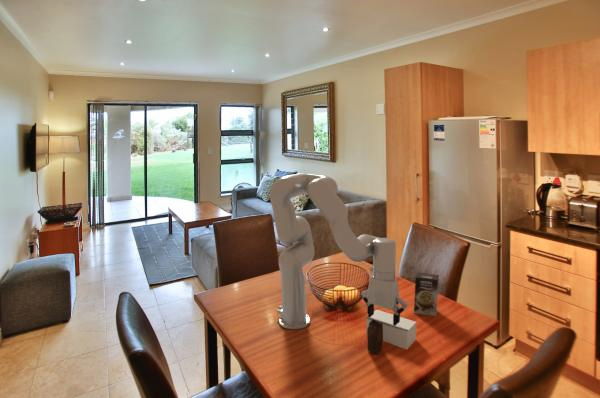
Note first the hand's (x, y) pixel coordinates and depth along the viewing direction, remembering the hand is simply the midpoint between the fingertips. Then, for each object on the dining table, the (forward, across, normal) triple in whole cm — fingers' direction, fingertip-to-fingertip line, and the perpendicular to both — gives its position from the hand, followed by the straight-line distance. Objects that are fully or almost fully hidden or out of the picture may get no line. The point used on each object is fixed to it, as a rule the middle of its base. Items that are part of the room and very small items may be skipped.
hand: (383, 319), depth 128 cm
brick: (+4, 0, -3) cm, 5 cm away
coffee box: (+10, +3, +34) cm, 35 cm away
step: (+10, 0, +6) cm, 12 cm away
